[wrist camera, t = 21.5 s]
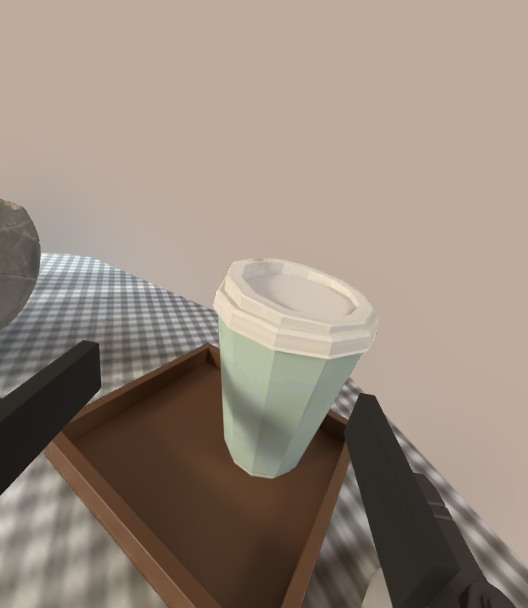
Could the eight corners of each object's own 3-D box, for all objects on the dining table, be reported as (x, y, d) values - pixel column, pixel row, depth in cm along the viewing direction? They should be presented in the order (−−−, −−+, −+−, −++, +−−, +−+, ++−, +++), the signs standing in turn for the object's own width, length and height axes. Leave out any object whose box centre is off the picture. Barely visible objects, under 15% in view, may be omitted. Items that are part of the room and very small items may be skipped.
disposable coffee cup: (346, 459, 22) (417, 300, 17) (252, 558, 15) (323, 336, 10) (263, 385, 29) (294, 254, 24) (171, 430, 22) (184, 255, 16)
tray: (352, 446, 25) (361, 426, 24) (258, 719, 11) (271, 697, 10) (205, 360, 32) (208, 342, 31) (44, 455, 19) (39, 428, 18)
